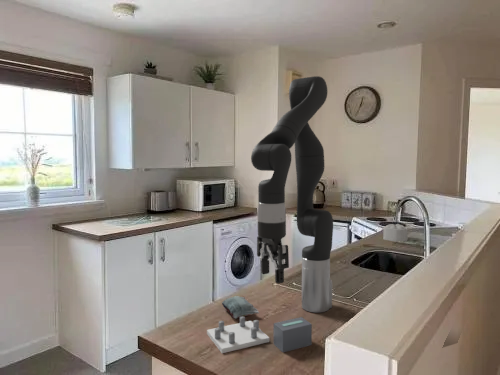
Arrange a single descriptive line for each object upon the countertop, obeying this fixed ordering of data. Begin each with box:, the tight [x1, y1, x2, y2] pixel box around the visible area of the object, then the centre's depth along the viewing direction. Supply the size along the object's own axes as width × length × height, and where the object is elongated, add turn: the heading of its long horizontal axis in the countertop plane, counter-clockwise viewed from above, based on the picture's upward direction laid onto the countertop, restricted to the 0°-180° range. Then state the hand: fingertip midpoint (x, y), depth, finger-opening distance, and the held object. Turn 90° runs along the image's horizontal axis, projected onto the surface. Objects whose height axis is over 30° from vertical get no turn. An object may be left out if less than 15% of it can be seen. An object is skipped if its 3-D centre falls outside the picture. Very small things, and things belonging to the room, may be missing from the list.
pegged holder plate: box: [206, 316, 270, 354], centre depth 109 cm, size 14×12×4 cm
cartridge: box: [273, 316, 313, 353], centre depth 105 cm, size 9×5×6 cm, turn 115°
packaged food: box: [221, 295, 260, 319], centre depth 125 cm, size 9×12×5 cm
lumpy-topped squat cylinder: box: [382, 223, 409, 242], centre depth 227 cm, size 10×13×9 cm
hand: (272, 278), depth 105 cm, fingers open, 8 cm apart
